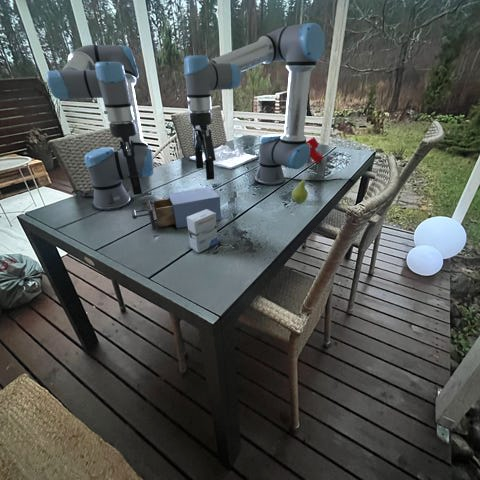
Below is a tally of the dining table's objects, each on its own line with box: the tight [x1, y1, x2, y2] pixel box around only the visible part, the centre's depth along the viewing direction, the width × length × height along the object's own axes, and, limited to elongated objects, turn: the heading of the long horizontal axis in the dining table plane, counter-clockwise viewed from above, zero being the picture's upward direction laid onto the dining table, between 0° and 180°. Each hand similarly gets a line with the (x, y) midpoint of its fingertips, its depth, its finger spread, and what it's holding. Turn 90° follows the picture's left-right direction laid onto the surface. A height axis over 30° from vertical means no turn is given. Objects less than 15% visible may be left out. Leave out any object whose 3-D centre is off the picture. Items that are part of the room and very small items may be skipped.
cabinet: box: [167, 186, 222, 229], centre depth 107 cm, size 18×11×10 cm, turn 113°
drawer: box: [131, 197, 176, 231], centre depth 103 cm, size 22×10×8 cm, turn 113°
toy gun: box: [306, 136, 324, 165], centre depth 169 cm, size 18×4×15 cm
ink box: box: [187, 209, 219, 254], centre depth 89 cm, size 8×5×12 cm, turn 134°
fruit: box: [291, 174, 311, 204], centre depth 118 cm, size 7×8×12 cm
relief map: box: [189, 144, 258, 170], centre depth 177 cm, size 27×35×5 cm
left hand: (137, 193), depth 96 cm, fingers closed
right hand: (205, 173), depth 102 cm, fingers open, 13 cm apart
